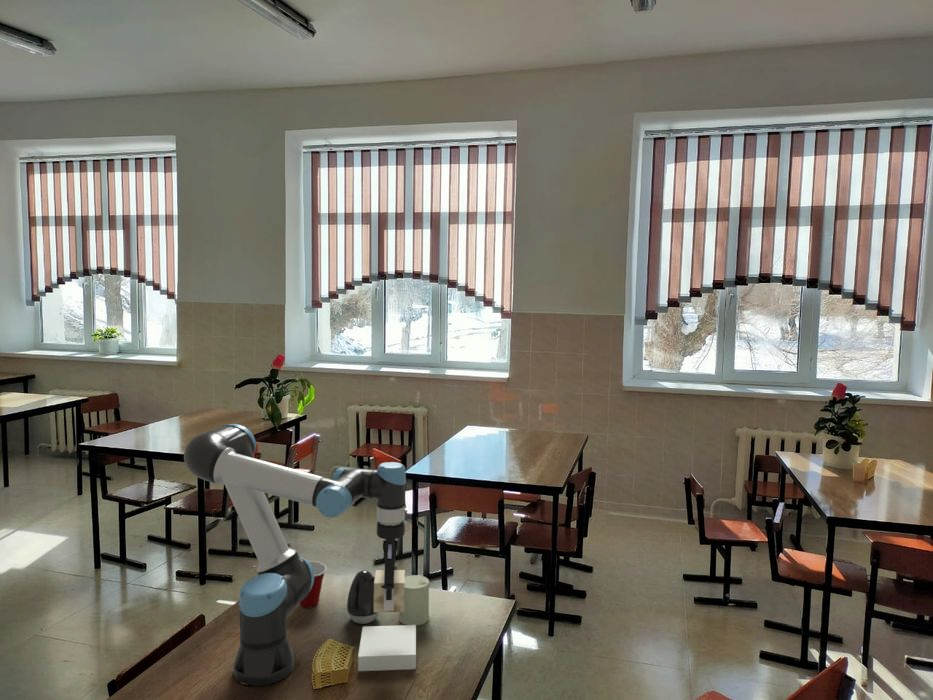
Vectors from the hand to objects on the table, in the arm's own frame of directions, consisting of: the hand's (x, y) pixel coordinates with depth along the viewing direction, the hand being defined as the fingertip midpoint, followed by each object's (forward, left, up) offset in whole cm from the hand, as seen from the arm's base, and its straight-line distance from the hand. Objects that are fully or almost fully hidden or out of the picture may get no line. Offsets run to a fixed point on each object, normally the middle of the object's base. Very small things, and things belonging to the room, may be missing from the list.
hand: (389, 601), depth 173 cm
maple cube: (0, 0, -1) cm, 1 cm away
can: (+7, +19, -15) cm, 25 cm away
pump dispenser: (-8, +19, -15) cm, 25 cm away
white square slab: (0, 0, -15) cm, 15 cm away
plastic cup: (-26, +30, -15) cm, 42 cm away
